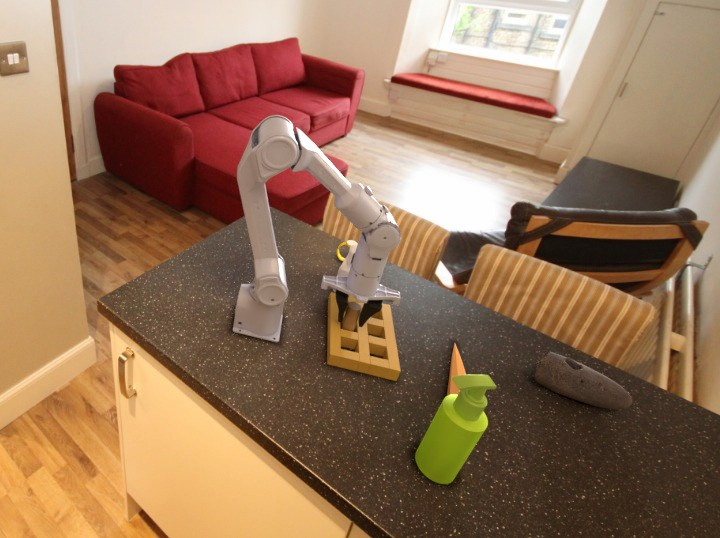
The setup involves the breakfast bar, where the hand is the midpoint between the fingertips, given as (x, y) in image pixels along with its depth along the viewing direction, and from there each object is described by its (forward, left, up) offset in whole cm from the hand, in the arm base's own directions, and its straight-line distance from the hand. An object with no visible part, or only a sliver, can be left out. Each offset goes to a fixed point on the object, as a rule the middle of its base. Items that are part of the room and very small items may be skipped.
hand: (349, 321), depth 91 cm
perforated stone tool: (+42, -2, -4) cm, 42 cm away
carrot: (+21, -5, -4) cm, 22 cm away
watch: (+1, +26, -4) cm, 26 cm away
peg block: (+3, 0, -4) cm, 5 cm away
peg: (0, 0, -4) cm, 4 cm away
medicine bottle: (+2, +15, -4) cm, 16 cm away
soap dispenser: (+13, -24, -4) cm, 27 cm away
